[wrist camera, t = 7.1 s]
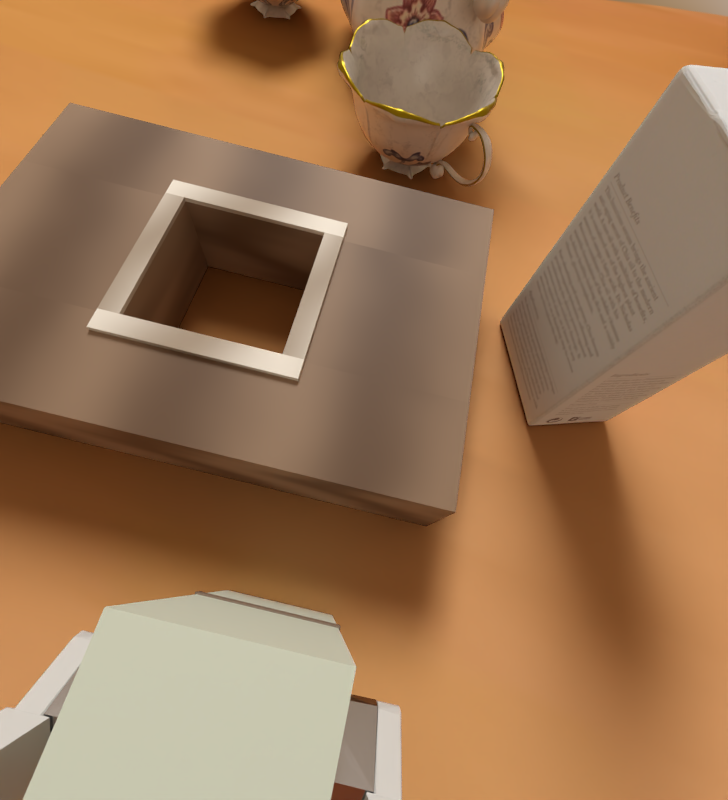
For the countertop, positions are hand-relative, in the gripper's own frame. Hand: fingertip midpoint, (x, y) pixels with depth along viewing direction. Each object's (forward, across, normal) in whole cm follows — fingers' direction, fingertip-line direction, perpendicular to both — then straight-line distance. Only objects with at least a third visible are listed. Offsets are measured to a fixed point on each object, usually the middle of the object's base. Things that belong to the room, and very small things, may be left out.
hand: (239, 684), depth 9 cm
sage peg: (+4, 0, +5) cm, 6 cm away
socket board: (+13, +5, -4) cm, 15 cm away
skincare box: (+15, -10, -5) cm, 19 cm away
